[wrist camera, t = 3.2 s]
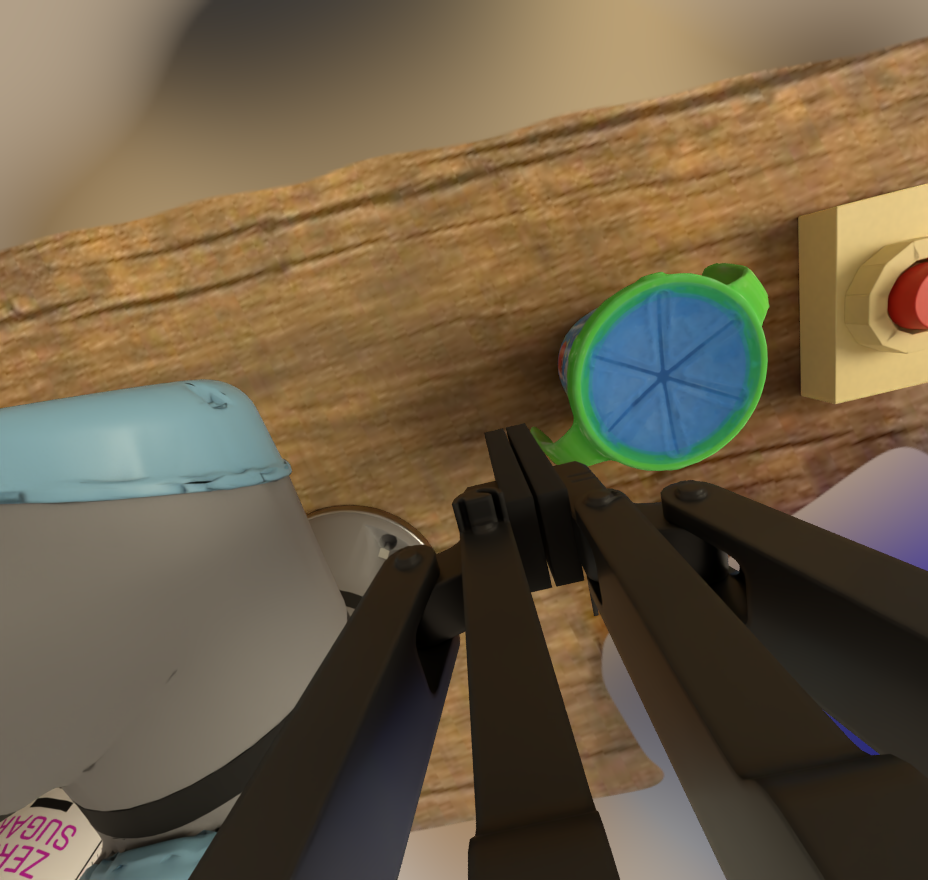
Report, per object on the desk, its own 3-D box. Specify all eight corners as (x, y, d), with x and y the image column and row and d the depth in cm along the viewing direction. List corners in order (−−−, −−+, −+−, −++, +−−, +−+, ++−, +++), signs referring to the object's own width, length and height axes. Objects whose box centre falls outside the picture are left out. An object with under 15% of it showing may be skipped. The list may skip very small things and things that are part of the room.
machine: (904, 371, 34) (979, 381, 29) (800, 395, 34) (858, 410, 29) (914, 187, 30) (1002, 163, 25) (797, 216, 30) (862, 199, 25)
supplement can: (116, 769, 43) (-53, 1000, 28) (75, 705, 40) (-132, 923, 26) (194, 752, 42) (63, 978, 28) (157, 687, 40) (-7, 897, 26)
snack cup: (659, 227, 30) (758, 188, 20) (730, 349, 33) (848, 366, 23) (480, 367, 33) (493, 392, 23) (559, 470, 35) (601, 532, 25)
